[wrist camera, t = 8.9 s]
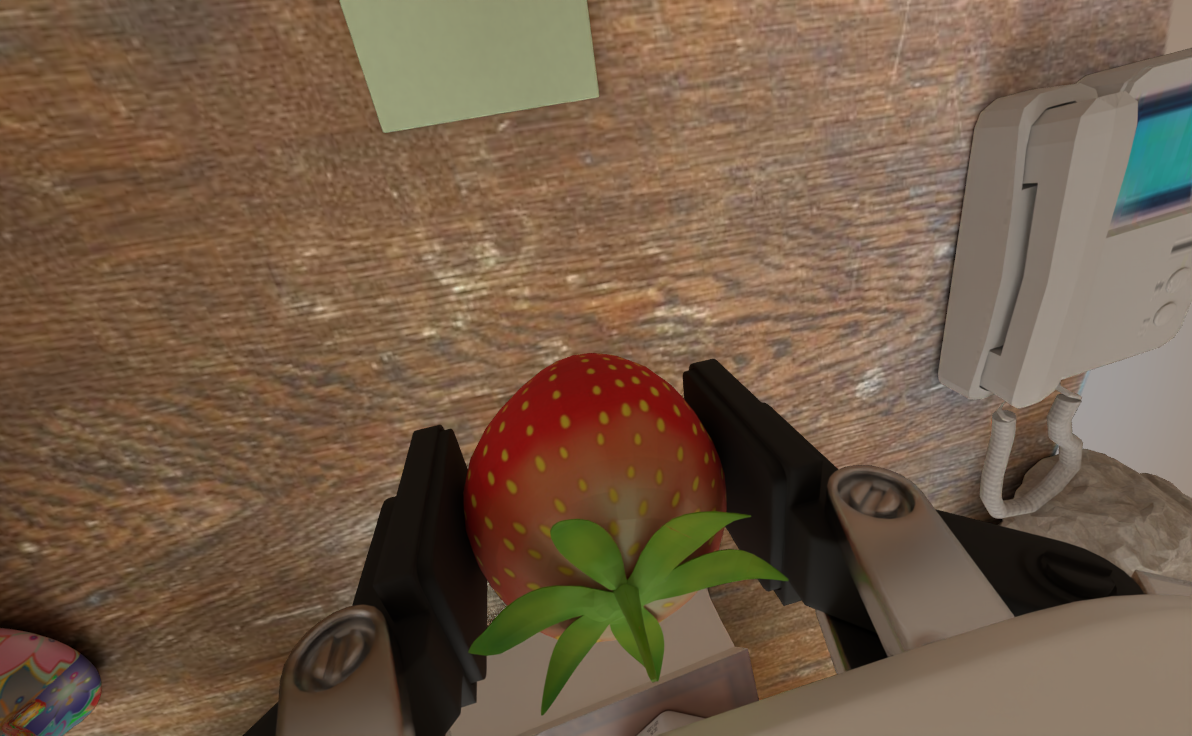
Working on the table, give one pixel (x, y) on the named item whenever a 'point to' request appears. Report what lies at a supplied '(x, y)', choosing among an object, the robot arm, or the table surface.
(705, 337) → the table surface
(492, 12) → the napkin
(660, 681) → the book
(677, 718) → the multiport hub
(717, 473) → the fruit
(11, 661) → the mug
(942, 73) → the table surface
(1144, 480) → the stone
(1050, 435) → the intercom
